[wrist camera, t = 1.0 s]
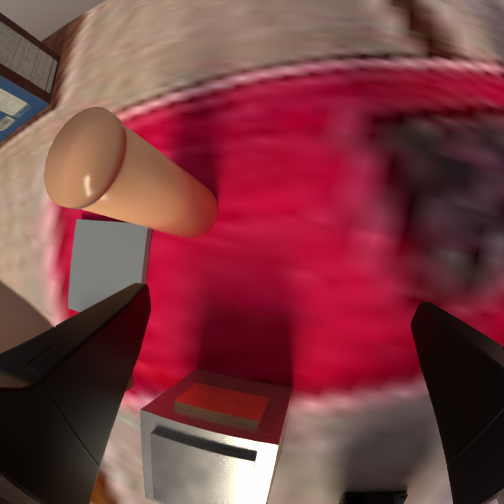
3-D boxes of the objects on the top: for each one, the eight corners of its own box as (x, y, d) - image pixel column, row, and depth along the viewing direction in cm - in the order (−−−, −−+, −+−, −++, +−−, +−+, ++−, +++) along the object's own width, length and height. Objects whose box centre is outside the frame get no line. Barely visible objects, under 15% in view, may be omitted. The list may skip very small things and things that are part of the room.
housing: (277, 463, 22) (256, 536, 12) (191, 444, 23) (141, 502, 14) (293, 382, 22) (277, 445, 13) (197, 364, 24) (134, 407, 14)
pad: (142, 327, 25) (137, 329, 24) (73, 307, 27) (68, 308, 26) (152, 225, 25) (148, 224, 25) (81, 220, 27) (76, 219, 26)
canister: (214, 242, 24) (103, 207, 11) (162, 236, 25) (36, 206, 12) (222, 183, 24) (129, 99, 11) (170, 182, 25) (59, 115, 12)
